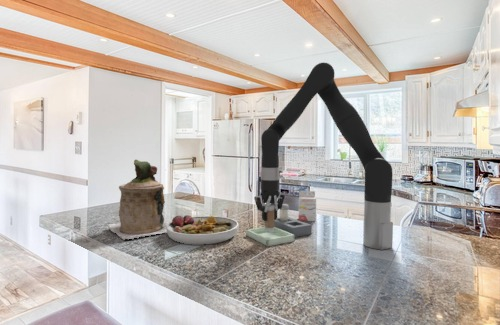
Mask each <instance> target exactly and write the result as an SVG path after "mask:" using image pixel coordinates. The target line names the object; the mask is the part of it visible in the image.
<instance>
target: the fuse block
mask: <svg viewBox="0 0 500 325" xmlns="http://www.w3.org/2000/svg"><path fill="white" fill-rule="evenodd" d="M274 227H276V228H279V229H281V230H284V231H286V232H289V233H291V234H294V235H295V238H297V237H303V236H308V235H312V233H313V232H312V230H313V229H312V224H310V223H307V222H306V221H299V219H296V218H292V217H289V216H288V221H285V222H282V221H280V216H278V217H277V218H276V220H274Z"/></svg>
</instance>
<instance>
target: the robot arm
mask: <svg viewBox="0 0 500 325" xmlns="http://www.w3.org/2000/svg"><path fill="white" fill-rule="evenodd" d="M317 94H318V96H319V97H320V99H321V101H323V104H325V106H326V108H327V110H328V113H329V114H330V116H331V118H332V120H333V122H334V124H335V126H336V128H337V129H338V131H339V133H340V134H341V135H342V137H343V138H344V140H345V141H346V142H347V143H348V145H349V146H350V148H352V149H353V151H354V152H355V153H356V155H357V157H358V160H360V163H361V165H362V167H363V170H364V194H363V195H364V196H363V197H364V199H363V200H364V202H363V203H364V204H363V205H364V207H363V208H364V210H363V245H364V246H365V247H367V248H371V249H376V250H381V251H383V250H388V249H391V248H393V237H394V236H393V234H394V232H393V231H394V224H393V221H391V218H392V217H391V214H392V213H391V212H392V211H391V209H392V208H391V206H392V194H393V167H392V165H391V163H390V162H388V161H387V160H386V159H385V157H384V156H383V155H382V154H381V153H380V151H379V150H378V148H377V147H376V145H375V143H374V142H373V140H372V136H371V135H370V132H369V129H368V128H367V126H366V124H365V122H364V120H363V119H362V117H361V116H360V114H359V112H358V111H357V110H356V108H355V107H354V106H353V104H351V103H350V101H348V100H347V99H346V98H345V97H344V96H343V94H342V93H341V92H340V90H339V87H338V86H337V84H336V81H335V69H334V67H333V65H331V64H330V63H328V62H319V63H318V64H315V65H314V67H313V68H312V70H311V71H310V73H309V74H308V76H307V78H306V79H305V80H304V83H303V84H302V86H301V87H300V88H299V89H298V91H297V92H296V93H295V95H294V96H293V97H292V99H291V100H290V101H289V102H288V103H287V104H286V105H285V107H284V108H283V109H282V110H281V111H280V113H278V115H277V116H276V117H275V119H274V121H273V122H272V123H271V124H270V126H269V127H268V128H267V129H265V130H264V131H263V132H262V134H261V137H260V138H261V169H260V190H261V192H260V195H258V196H254V202H255V205H256V208H257V211H260V212H261V220H263V222H265V221H267V209H268V207H269V204H273V205H275V211H274V220H276V218H278V210H280V209H281V208H282V205H283V204H284V201H285V196H286V195H285V194H283V193H280V192H279V190H280V167H279V166H280V160H279V159H280V157H279V149H280V148H279V147H280V140H281V139H282V138H283V137H284V136H285V134H286V133H287V131H288V130H289V129H291V128H292V127H293V125H294V124H295V123H296V122H297V121H298V120H299V118H300V117H301V116H302V114H303V113H304V111H305V110H306V109H307V107H308V105H309V104H310V103H311V101H312V100H313V99H314V98H315V96H316V95H317Z"/></svg>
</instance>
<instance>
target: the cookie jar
mask: <svg viewBox="0 0 500 325" xmlns="http://www.w3.org/2000/svg"><path fill="white" fill-rule="evenodd" d="M133 165H134V172H135V175H136V176H135V177H134V178H132V179H131V180H130V181H129V182H127V183H125V184H121V185H119V186H118V189H119V191H120V199H119V210H118V216H119V217H118V218H119V222H118V223H110V224H107V228H108V230H109V229H110V231H111V232H112V233H114V234H115V233H116V234H115V235H116V236H118V237H119V238H120V239H121V240H122V239H124V240H129V239H132V240H135V239H134V238H137V239H139V237H140V238H146V237H145V236H149V237H152V236H151V235H155V236H157V235H156V234H160V235H163V234H162V233H165V234H167V233H166V232H167V225H168V224H169V223H170V222H168V221H165V217H164V215H163V212H164V206H165V203H166V201H165V196H164V195H165V194H164V189H165V187H164V184H162V183H160V182H159V181H157V179H156V178H155V175H157V174H158V172H157V171H158V167H157V166H154V165H151V163H150V162H148V161H140V160H138V159H134V161H133ZM159 230H163V231H166V232H157V231H159Z"/></svg>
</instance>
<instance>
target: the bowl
mask: <svg viewBox="0 0 500 325" xmlns="http://www.w3.org/2000/svg"><path fill="white" fill-rule="evenodd" d="M168 223H169V224H168V225H167V233H166V234H167V235H168V237H169V238H170V239H171V240H172V241H174V242H176V241H177V243H179V242H180V244H183V243H184V245H191V244H192V245H194V246H195V245H196V246H197V245H198V246H203V245H204V244H206V245H212V244H213V245H214V244H217V243H218V244H220V243H222V242H225V241H229V240H230V239H231V238H233V237H235V235H236V234H237V233H238V230H239V223H238V221H237V220H235V219H233V218H230V217H229V218H228V217H224V216H214V215H210V216H208V215H207V216H203V215H202V216H201V215H200V216H193V217H192V216H191V215H187V214H186V215H184V216H182V215H176V216H175V217H173V218H172V220H171V222H168ZM192 245H191V246H192Z"/></svg>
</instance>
